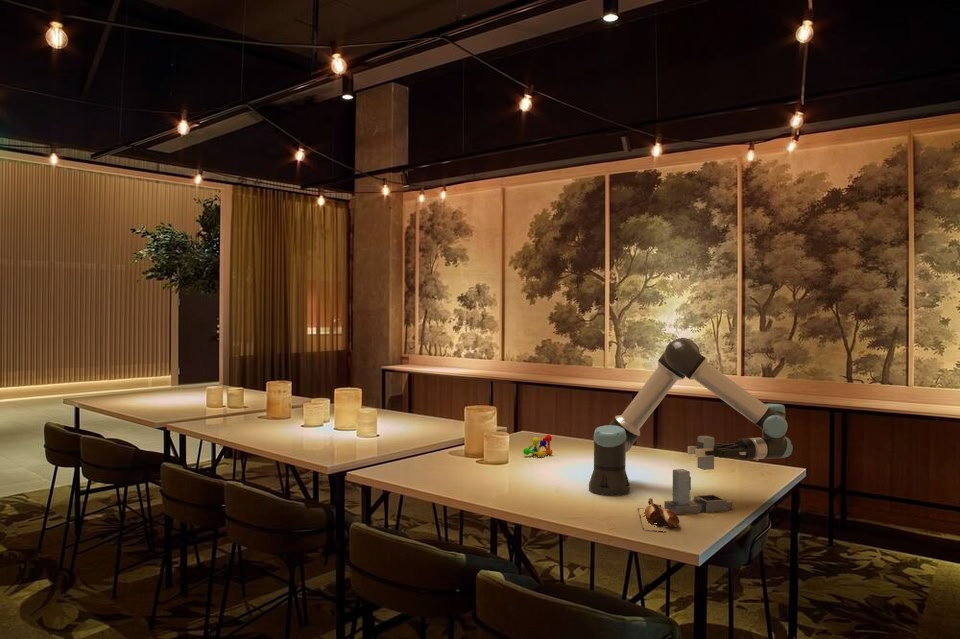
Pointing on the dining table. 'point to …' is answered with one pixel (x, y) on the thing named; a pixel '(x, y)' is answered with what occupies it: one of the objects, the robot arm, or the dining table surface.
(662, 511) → the ballet pointe shoes
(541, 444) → the molecular model
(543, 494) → the dining table surface
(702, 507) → the grey blocky piece
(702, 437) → the gray rectangular block
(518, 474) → the dining table surface
